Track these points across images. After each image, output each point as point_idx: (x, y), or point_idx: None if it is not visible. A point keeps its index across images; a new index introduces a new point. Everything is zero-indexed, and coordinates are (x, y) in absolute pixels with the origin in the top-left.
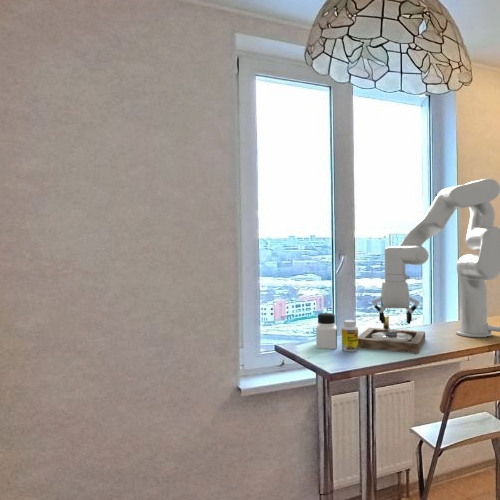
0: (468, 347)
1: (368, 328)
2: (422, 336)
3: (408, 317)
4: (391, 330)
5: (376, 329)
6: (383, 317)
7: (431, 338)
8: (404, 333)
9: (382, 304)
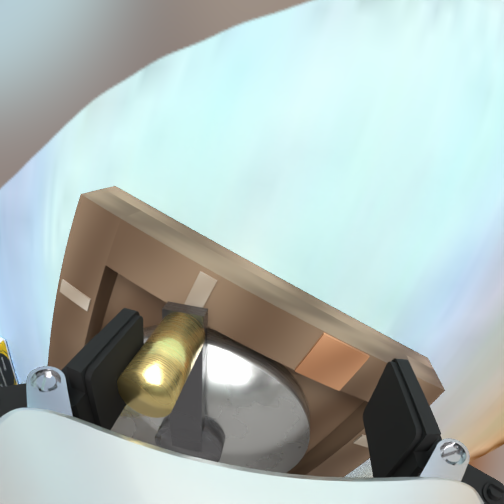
0: (473, 451)
1: (75, 227)
2: (345, 475)
3: (372, 456)
4: (195, 429)
5: (123, 274)
6: (118, 409)
7: (480, 320)
8: (298, 404)
9: (18, 410)
